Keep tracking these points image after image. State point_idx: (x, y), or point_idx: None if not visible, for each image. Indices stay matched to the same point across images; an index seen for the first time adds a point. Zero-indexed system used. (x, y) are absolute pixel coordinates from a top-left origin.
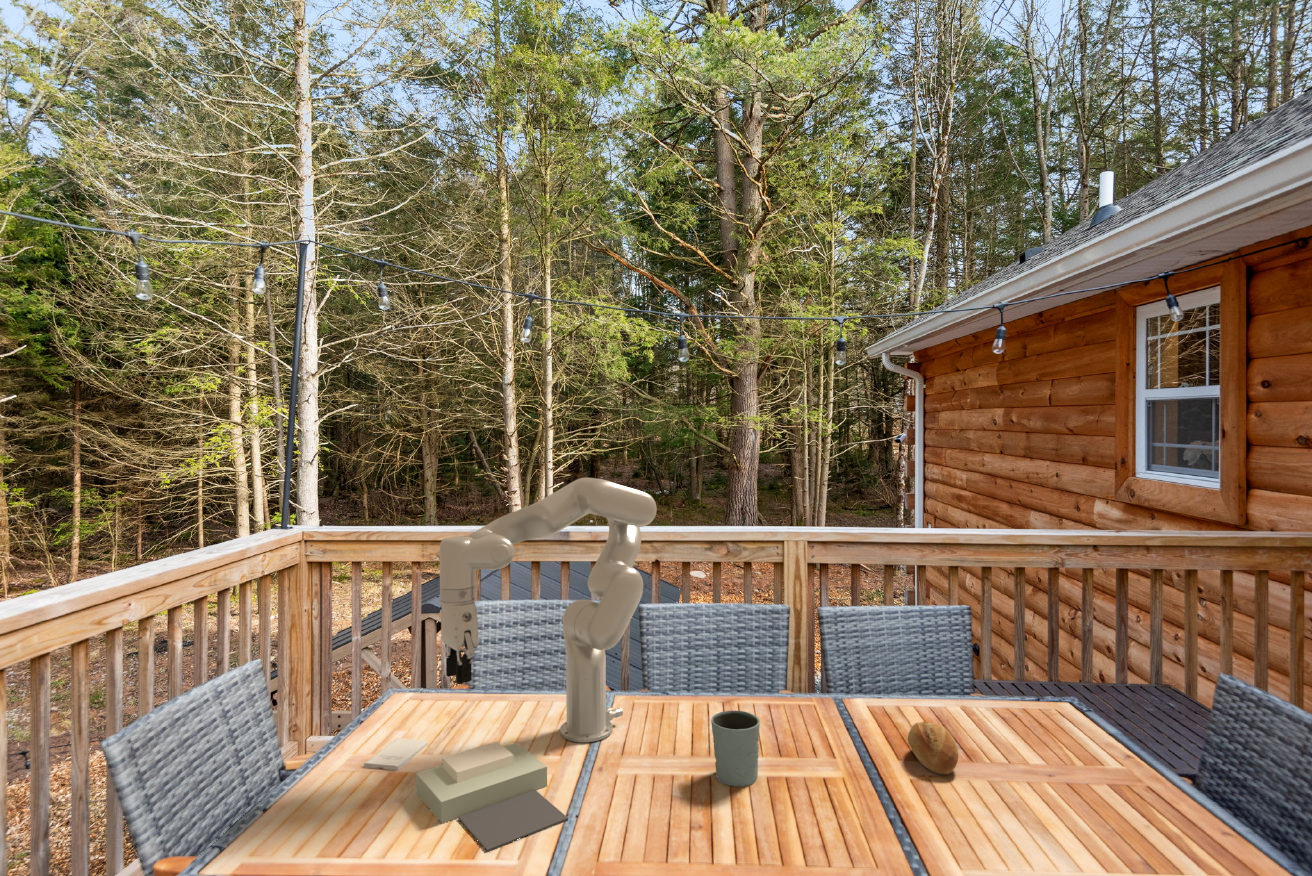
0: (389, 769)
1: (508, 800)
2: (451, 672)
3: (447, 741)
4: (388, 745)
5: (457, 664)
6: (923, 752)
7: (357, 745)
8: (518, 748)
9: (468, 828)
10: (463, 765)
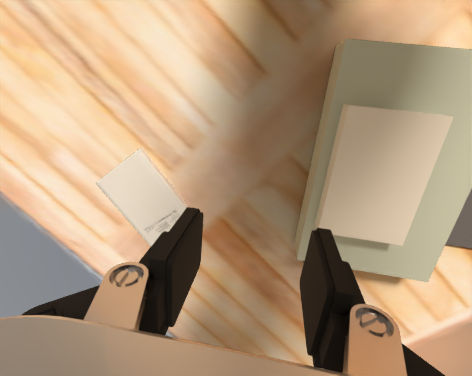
0: None
1: None
2: (197, 260)
3: (149, 112)
4: (117, 205)
5: (188, 255)
6: None
7: (79, 227)
8: (380, 54)
9: (469, 247)
10: (387, 223)
